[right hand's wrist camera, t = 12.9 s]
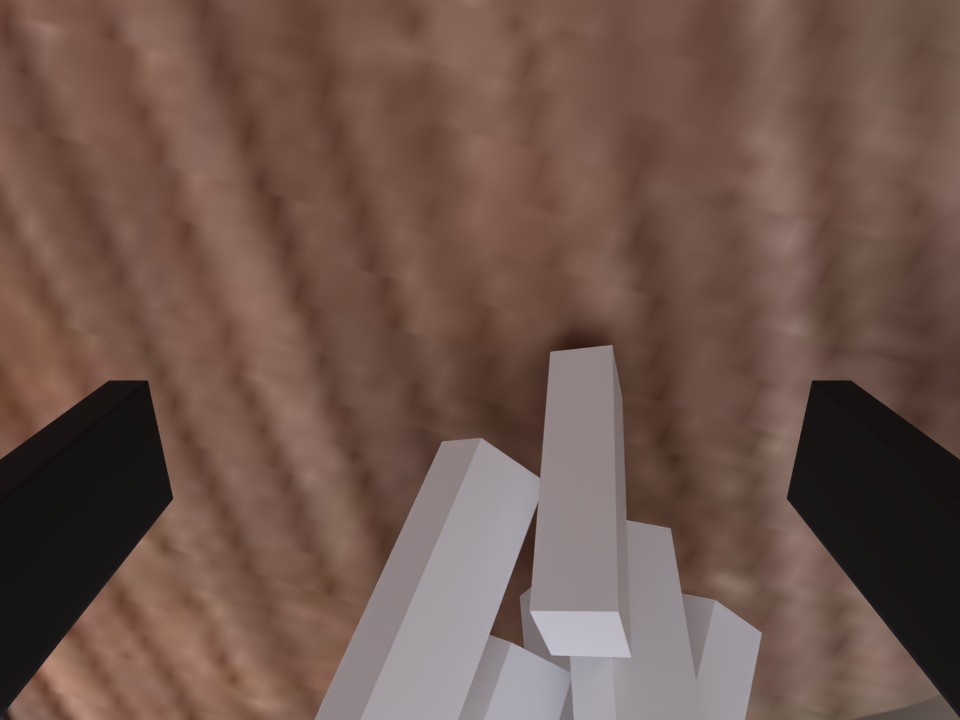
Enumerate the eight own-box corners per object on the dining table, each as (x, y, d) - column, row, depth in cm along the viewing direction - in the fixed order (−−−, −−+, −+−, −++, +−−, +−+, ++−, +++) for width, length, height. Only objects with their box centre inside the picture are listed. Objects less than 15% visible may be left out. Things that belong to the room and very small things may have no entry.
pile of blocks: (327, 333, 48) (-79, 901, 25) (743, 302, 36) (730, 1428, 12) (473, 573, 69) (328, 1008, 45) (770, 608, 56) (784, 1242, 32)
